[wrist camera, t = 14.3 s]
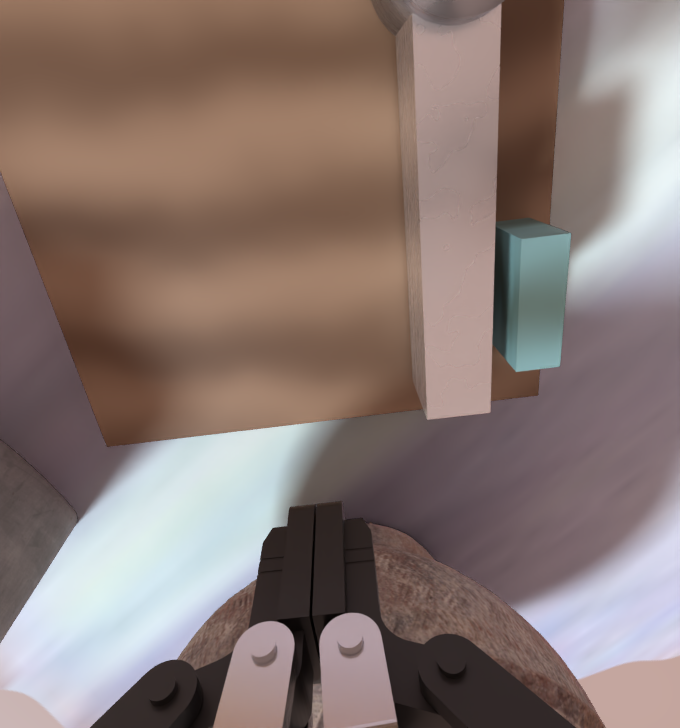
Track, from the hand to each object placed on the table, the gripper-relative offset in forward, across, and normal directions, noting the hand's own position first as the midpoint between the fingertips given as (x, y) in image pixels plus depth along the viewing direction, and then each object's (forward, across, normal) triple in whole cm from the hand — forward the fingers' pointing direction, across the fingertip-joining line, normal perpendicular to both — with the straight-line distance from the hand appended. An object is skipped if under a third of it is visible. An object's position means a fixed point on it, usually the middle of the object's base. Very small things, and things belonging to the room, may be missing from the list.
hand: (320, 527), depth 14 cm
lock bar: (+13, -6, -8) cm, 16 cm away
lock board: (+16, +1, -7) cm, 18 cm away
